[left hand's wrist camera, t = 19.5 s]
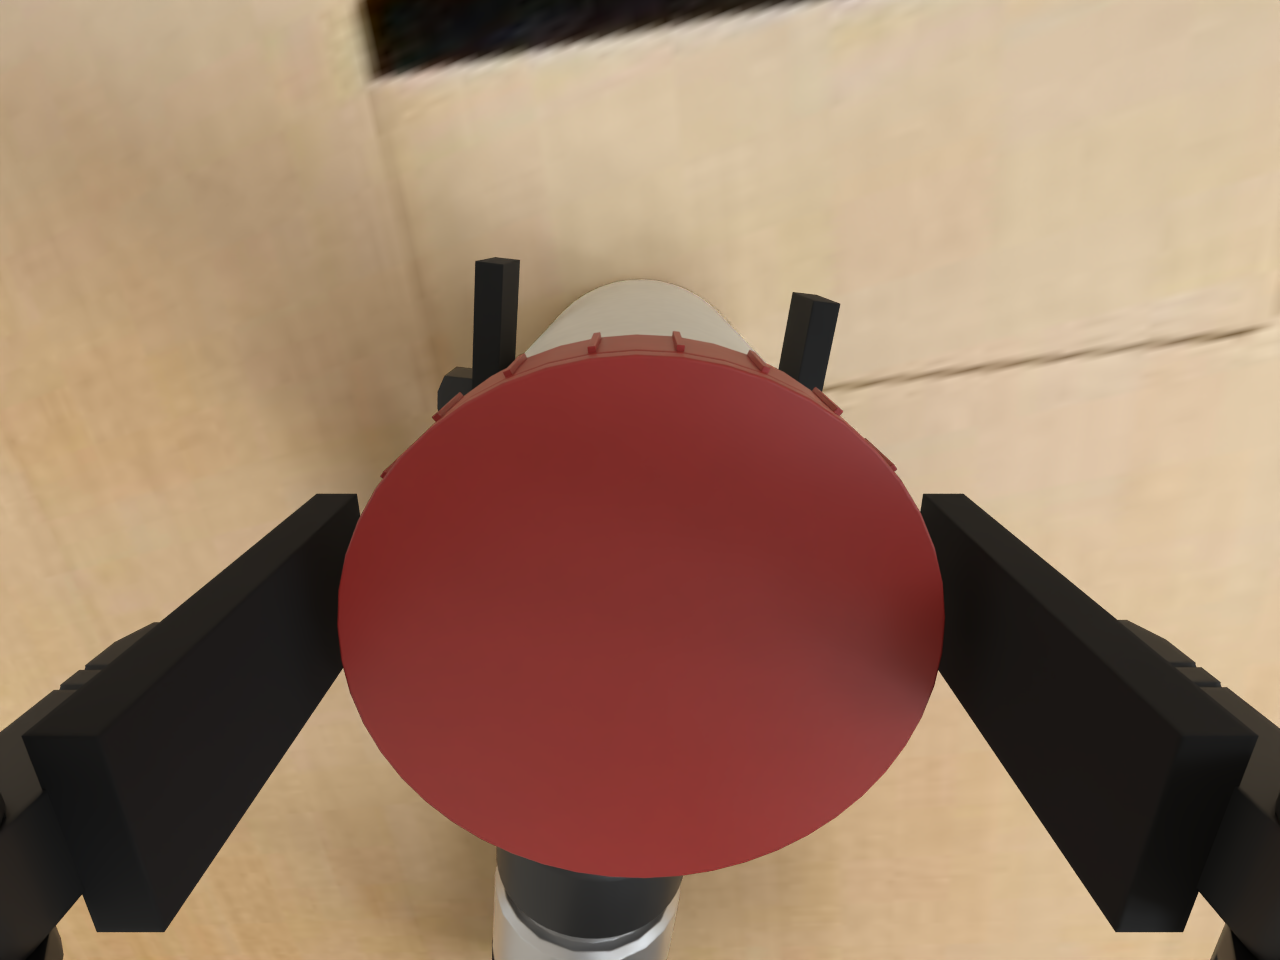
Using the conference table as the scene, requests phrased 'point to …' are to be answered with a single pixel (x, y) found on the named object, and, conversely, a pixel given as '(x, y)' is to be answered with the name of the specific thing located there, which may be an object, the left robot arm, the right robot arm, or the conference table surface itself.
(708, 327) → the jar
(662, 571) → the lid
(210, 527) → the conference table surface
